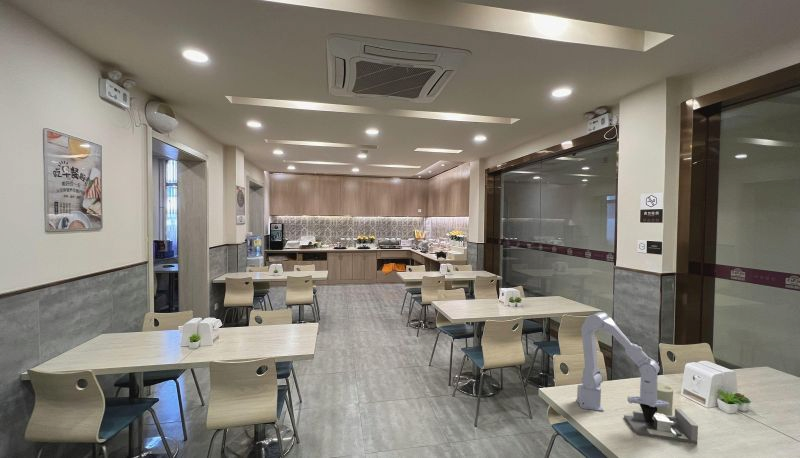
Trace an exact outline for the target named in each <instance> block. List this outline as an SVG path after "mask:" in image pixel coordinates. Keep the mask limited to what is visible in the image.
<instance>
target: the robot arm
mask: <svg viewBox="0 0 800 458" xmlns="http://www.w3.org/2000/svg"><path fill="white" fill-rule="evenodd" d="M599 329H600V331H602V332H606V333H609V334H610V335H612V336H613V337H614V338H615V339H616V340H617V341H618V343H620V345H621V346H622V347H623V348H624V352H625V354H626V355H627V356H628V357H629V358H630V359H631V360H632V362H633V363H634V364H636V366H638V370H639V373H640V388H639V396H627V402H628V404H637V405H638V404H639V406H640V409H641V412H643V415H644V419H645V421H646V423H650V422H651V419H652V417H653V415H654V414H655V413H656V412H657V410H658V409H657V408H656V406H660V407H666V408H669V406H670V404H669V403H668V402H667V401H662V400H658V399H657V386H658V383H659V380H658V373H660V370H661V369H660V365H659V363H658V362H657V361H656V360H654V359H652V358H651V357H649V356H648V355H647V354H646V352H644V351H643V347H642V346H639V345H638V344H635V343H632V342H631V341H630V340H629V338H628V337H627V336H626V335H625V334H624V333H623V331H622V330H621V329H620V328H619V327H618V325H617V324H616V323H615V321H614V320H613V318H612V317H610V316H609V314H607V313H606V312H604V311H598V312H596V313H594V314H591V315H589V316H587V317H586V318H585V321H584V322H583V324H582V325H581V330H580V331H581V338H582V348H583V359H584V367H583V369H582V370H583V371H582V376H581V383H582V384H577V387H576V388H577V391H576V392H577V393H576V394H577V395H576V401H577V403H578V405H579V406H580V408H581V409H584V410H585V409H586V410H594V411H601V412H603V411H605V409H604V408H603V406H602V405H601V400H602V398H601V397H602V386H601V384H602V383H603V382H604V376H603V374H602V372H601V368H600V367H599V365H598V363H599V362H598V356H597V355H598V354H597V345H596V336H595V335H596V334H595V332H596V331H598V330H599Z"/></svg>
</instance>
